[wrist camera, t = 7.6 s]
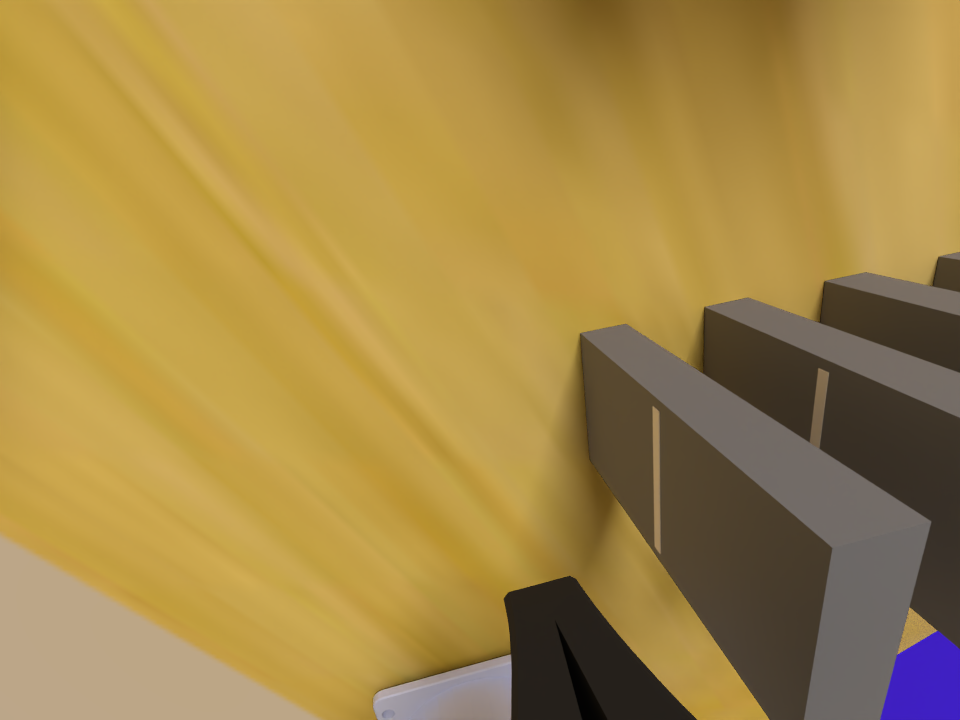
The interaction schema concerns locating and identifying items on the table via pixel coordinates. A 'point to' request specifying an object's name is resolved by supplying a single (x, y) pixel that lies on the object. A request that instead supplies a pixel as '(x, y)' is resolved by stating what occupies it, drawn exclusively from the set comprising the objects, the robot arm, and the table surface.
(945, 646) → the bracket
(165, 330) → the table surface
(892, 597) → the domino
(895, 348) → the domino
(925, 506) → the domino
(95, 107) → the table surface
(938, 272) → the domino
